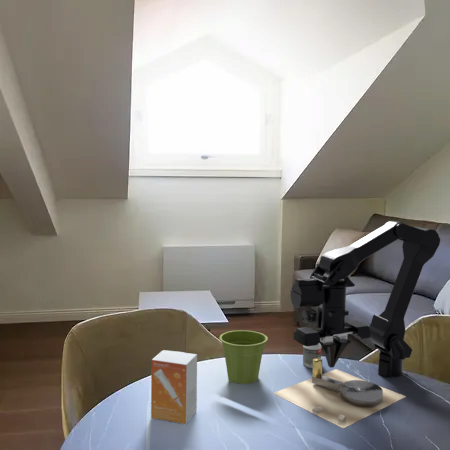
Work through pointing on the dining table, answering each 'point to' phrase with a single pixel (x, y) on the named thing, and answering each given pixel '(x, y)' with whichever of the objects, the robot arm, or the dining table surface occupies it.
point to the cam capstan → (349, 387)
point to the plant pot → (243, 355)
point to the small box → (174, 386)
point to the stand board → (333, 400)
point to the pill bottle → (311, 354)
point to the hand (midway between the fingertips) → (331, 366)
